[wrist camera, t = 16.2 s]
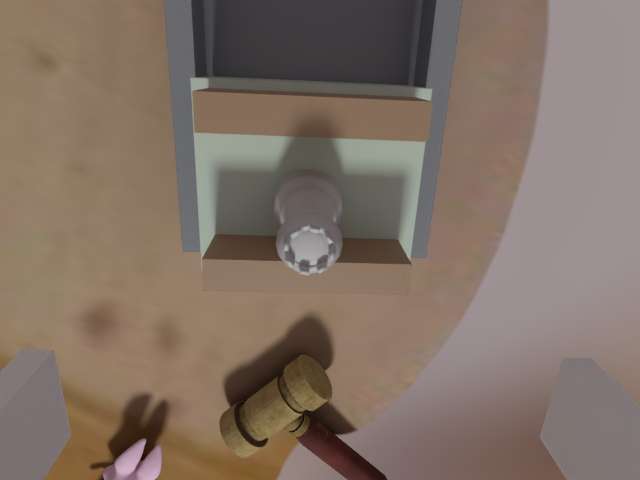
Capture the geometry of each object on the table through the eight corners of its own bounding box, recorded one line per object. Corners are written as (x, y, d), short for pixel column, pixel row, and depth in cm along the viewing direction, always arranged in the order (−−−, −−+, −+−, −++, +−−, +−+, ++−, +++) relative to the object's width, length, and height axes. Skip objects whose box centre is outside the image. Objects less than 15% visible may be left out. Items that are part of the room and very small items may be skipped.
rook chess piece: (261, 183, 27) (245, 225, 20) (328, 157, 27) (338, 190, 19) (288, 244, 29) (283, 305, 21) (352, 221, 28) (369, 275, 21)
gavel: (440, 496, 44) (362, 544, 46) (426, 457, 48) (355, 502, 50) (301, 378, 36) (215, 442, 38) (299, 344, 40) (221, 402, 42)
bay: (195, 232, 36) (182, 251, 32) (170, -173, 26) (148, -213, 23) (413, 238, 37) (425, 258, 33) (463, -152, 27) (489, -186, 24)
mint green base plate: (217, 236, 35) (186, 297, 26) (210, 76, 31) (170, 79, 21) (391, 241, 36) (423, 303, 26) (409, 85, 31) (454, 92, 22)
